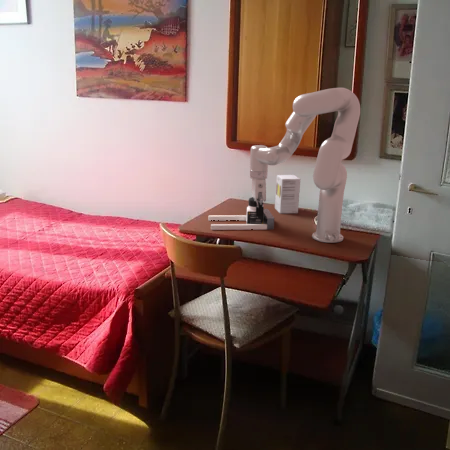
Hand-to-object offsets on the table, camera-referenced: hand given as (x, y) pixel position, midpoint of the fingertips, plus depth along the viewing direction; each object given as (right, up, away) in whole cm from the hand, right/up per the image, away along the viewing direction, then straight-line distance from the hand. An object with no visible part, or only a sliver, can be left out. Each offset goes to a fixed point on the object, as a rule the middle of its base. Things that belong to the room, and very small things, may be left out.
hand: (257, 212), depth 234 cm
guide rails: (-9, -5, +1) cm, 10 cm away
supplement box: (+15, +1, +25) cm, 29 cm away
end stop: (+4, -5, +2) cm, 7 cm away
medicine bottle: (-1, -5, +2) cm, 6 cm away
